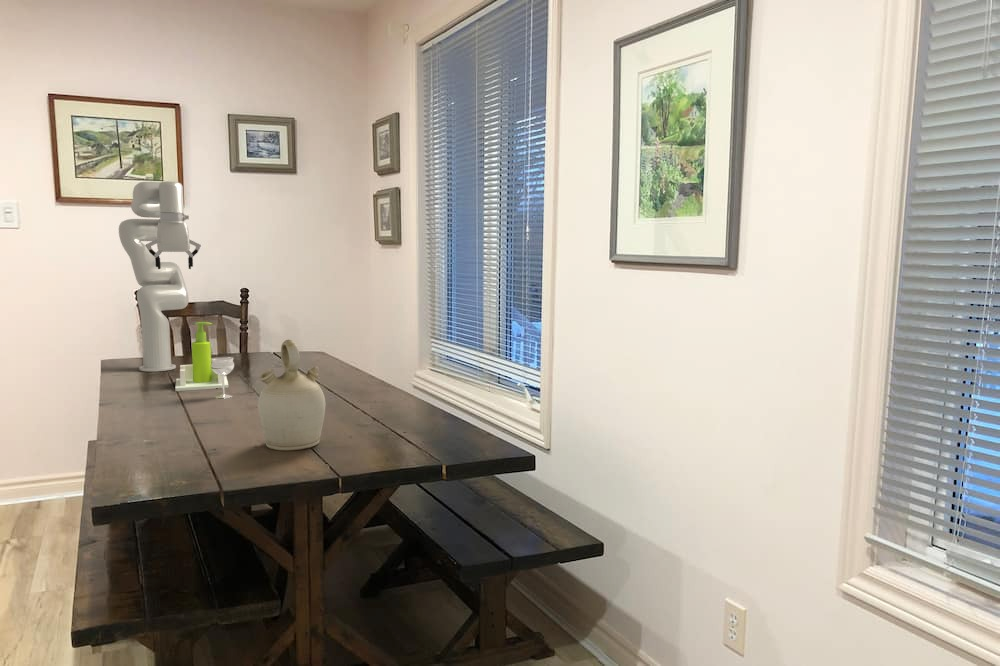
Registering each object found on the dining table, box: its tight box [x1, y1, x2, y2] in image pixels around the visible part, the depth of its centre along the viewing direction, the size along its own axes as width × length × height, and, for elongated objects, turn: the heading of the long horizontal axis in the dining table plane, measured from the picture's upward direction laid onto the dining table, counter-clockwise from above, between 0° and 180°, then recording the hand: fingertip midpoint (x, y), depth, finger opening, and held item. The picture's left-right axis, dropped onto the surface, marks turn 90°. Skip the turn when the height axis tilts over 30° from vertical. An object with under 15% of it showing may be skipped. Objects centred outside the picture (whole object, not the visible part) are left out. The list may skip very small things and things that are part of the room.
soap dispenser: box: [191, 321, 213, 383], centre depth 249 cm, size 6×7×20 cm
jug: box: [257, 339, 327, 452], centre depth 175 cm, size 15×16×25 cm
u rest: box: [174, 364, 229, 392], centre depth 250 cm, size 18×16×6 cm
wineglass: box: [211, 356, 235, 399], centre depth 229 cm, size 7×7×12 cm
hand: (174, 269), depth 256 cm, fingers open, 9 cm apart
